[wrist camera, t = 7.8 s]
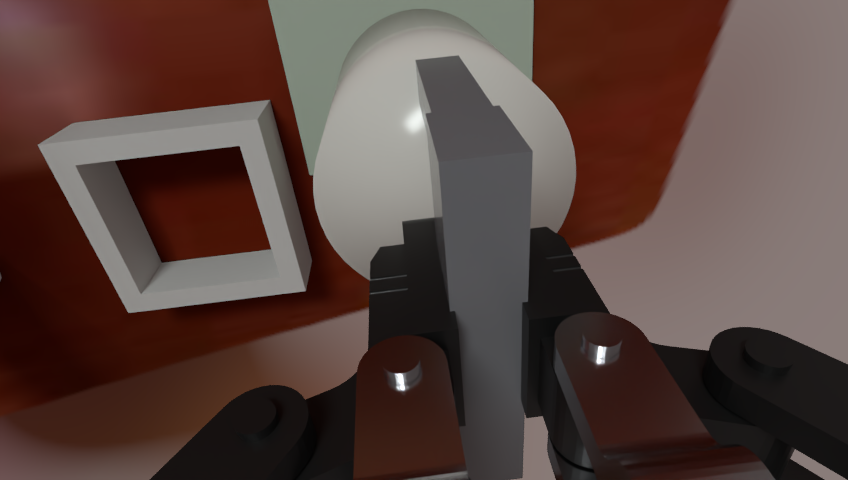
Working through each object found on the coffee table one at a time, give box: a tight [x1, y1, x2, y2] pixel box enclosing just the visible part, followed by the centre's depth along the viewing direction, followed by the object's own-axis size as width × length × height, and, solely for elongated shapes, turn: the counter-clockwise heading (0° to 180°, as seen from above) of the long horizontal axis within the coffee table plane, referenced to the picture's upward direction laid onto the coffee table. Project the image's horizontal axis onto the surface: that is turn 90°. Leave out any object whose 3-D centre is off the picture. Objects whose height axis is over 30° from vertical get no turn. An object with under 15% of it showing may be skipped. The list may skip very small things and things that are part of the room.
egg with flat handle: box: [313, 9, 576, 480], centre depth 14 cm, size 7×7×15 cm
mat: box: [268, 0, 534, 175], centre depth 31 cm, size 16×16×1 cm
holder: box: [38, 100, 312, 313], centre depth 34 cm, size 13×13×4 cm
